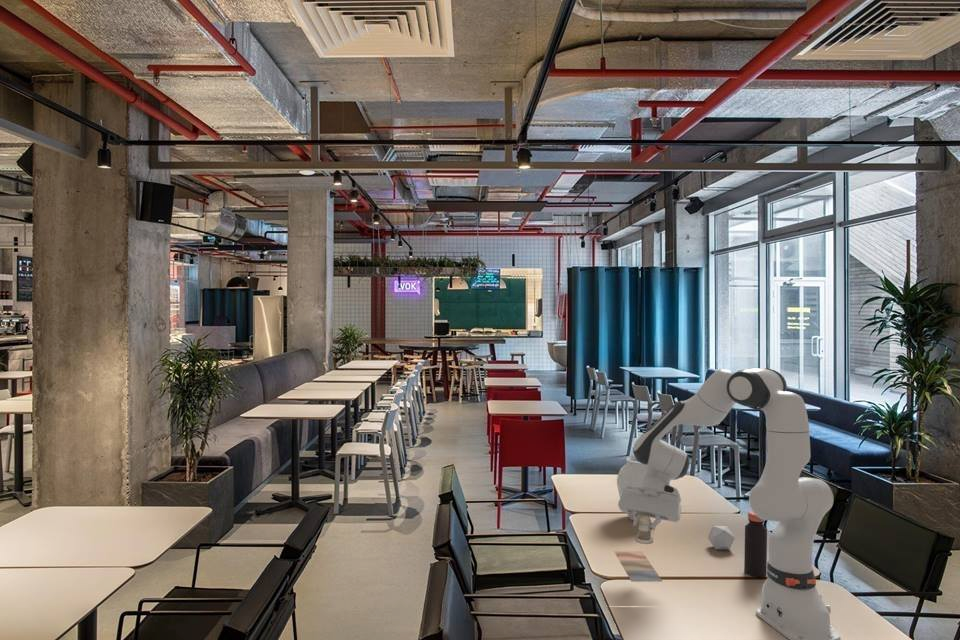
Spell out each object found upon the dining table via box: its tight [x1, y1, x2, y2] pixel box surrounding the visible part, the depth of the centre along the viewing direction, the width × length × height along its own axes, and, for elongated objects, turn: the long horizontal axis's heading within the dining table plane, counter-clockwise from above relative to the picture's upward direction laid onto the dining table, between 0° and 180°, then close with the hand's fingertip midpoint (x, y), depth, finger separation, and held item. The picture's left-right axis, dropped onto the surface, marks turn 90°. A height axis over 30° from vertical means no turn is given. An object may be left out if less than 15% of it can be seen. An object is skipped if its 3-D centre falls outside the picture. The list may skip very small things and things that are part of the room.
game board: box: [614, 550, 663, 582], centre depth 210 cm, size 24×10×1 cm, turn 1°
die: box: [707, 525, 736, 551], centre depth 226 cm, size 8×9×10 cm
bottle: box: [743, 510, 768, 578], centre depth 205 cm, size 7×7×20 cm
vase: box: [616, 455, 647, 521], centre depth 256 cm, size 18×18×25 cm
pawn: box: [634, 514, 654, 545], centre depth 201 cm, size 6×6×9 cm
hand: (643, 527), depth 201 cm, fingers closed on pawn, 4 cm apart
